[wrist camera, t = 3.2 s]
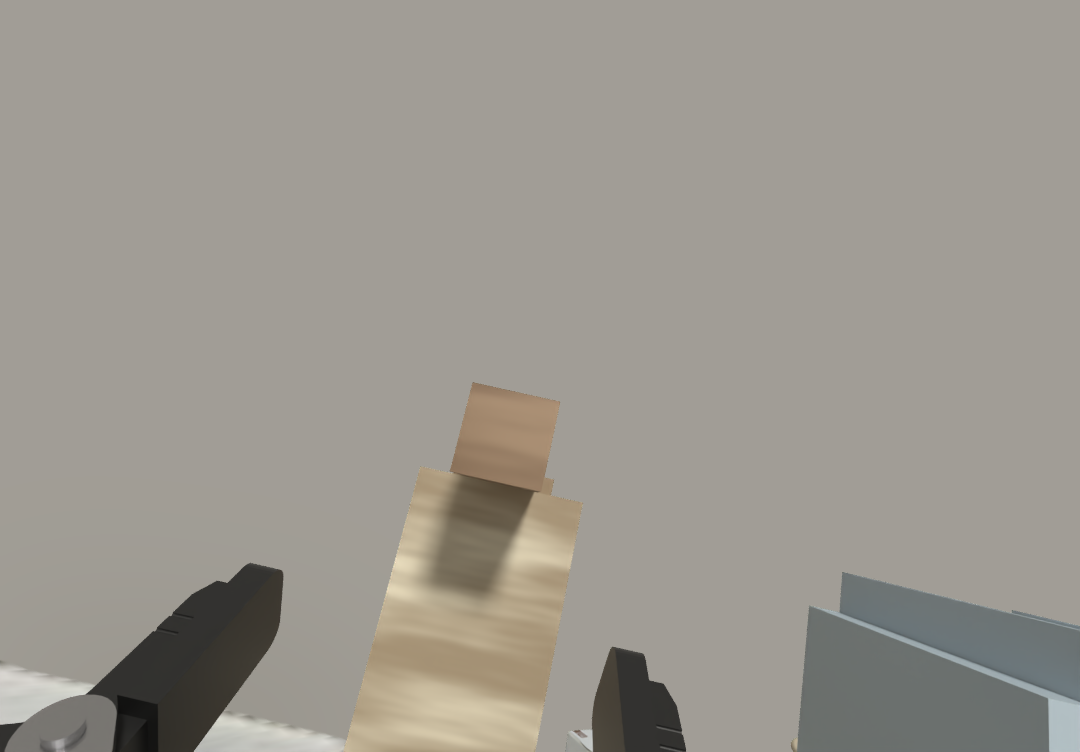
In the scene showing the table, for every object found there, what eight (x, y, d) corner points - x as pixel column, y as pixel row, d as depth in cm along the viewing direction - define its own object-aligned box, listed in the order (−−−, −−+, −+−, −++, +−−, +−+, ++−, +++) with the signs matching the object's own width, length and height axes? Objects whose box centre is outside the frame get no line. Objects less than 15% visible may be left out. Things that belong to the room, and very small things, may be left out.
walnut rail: (485, 482, 45) (495, 438, 46) (528, 492, 45) (538, 448, 46) (449, 471, 21) (472, 382, 22) (541, 491, 21) (560, 401, 22)
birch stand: (347, 890, 38) (461, 442, 46) (475, 920, 38) (567, 466, 46) (232, 1162, 23) (433, 418, 31) (446, 1212, 23) (592, 453, 31)
